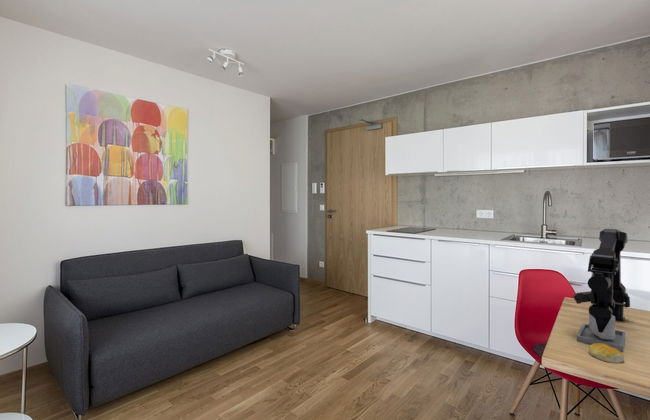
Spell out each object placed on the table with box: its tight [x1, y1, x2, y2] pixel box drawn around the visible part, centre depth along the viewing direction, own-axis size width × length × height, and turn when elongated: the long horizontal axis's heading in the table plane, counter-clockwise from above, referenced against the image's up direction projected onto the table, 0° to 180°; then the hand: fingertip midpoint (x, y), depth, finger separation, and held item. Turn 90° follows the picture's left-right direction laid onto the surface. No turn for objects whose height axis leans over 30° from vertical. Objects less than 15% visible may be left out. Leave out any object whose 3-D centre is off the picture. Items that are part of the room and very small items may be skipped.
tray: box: [576, 323, 626, 353], centre depth 122 cm, size 18×13×2 cm
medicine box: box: [588, 312, 616, 340], centre depth 122 cm, size 8×4×9 cm, turn 168°
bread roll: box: [588, 343, 625, 364], centre depth 108 cm, size 8×9×4 cm
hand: (601, 328), depth 122 cm, fingers closed on medicine box, 9 cm apart
